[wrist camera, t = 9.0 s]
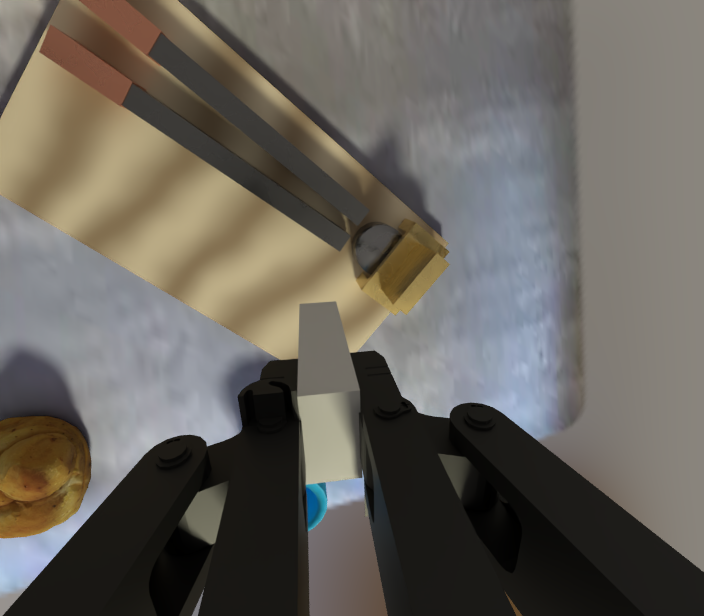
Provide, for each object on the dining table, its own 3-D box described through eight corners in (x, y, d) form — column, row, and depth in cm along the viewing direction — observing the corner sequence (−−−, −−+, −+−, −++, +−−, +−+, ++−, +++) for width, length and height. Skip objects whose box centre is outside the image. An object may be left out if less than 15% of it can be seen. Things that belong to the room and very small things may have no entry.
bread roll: (105, 502, 40) (62, 577, 32) (3, 501, 38) (-67, 582, 30) (99, 406, 36) (49, 467, 28) (-16, 400, 34) (-102, 464, 26)
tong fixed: (71, 42, 24) (48, 28, 22) (102, -18, 23) (82, -39, 21) (378, 278, 34) (384, 286, 31) (408, 241, 33) (416, 246, 31)
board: (-14, 176, 27) (-30, 177, 26) (108, -58, 24) (96, -73, 22) (325, 379, 39) (326, 387, 37) (442, 240, 35) (448, 243, 34)
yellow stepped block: (355, 280, 33) (371, 306, 27) (405, 218, 32) (434, 230, 25) (386, 303, 35) (409, 334, 28) (435, 245, 33) (471, 262, 27)
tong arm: (62, 63, 24) (38, 52, 22) (73, 38, 24) (50, 24, 22) (335, 247, 32) (339, 253, 30) (347, 230, 32) (351, 235, 29)
